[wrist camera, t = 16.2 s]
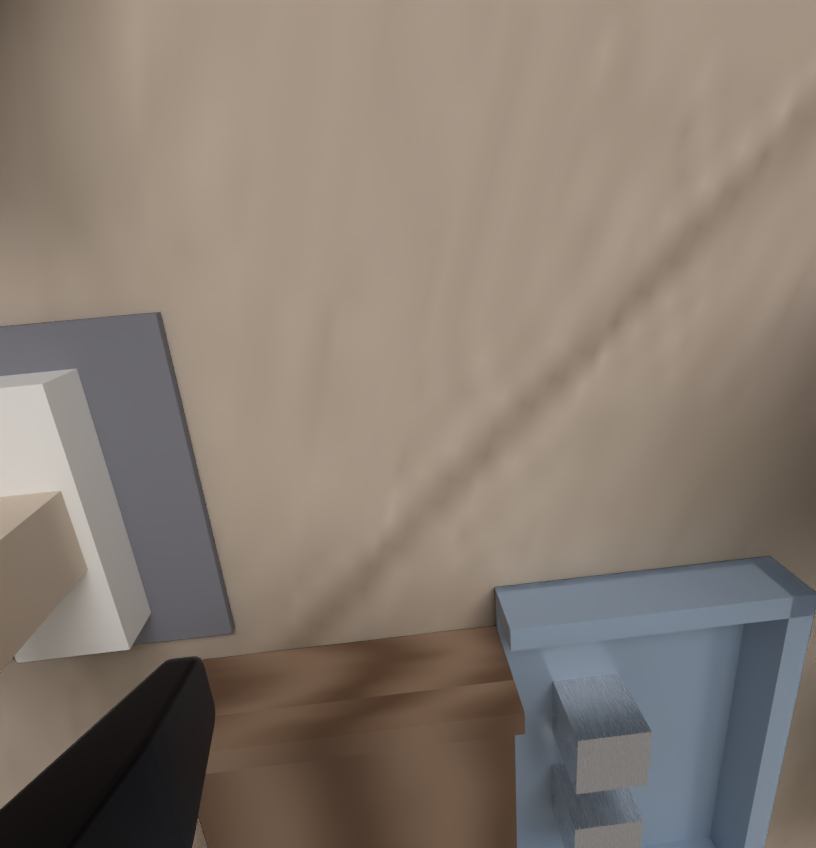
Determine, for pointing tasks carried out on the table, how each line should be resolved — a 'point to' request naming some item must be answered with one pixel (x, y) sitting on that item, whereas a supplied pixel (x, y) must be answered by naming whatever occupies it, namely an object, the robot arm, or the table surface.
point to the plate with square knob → (60, 529)
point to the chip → (600, 733)
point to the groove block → (365, 745)
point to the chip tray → (667, 689)
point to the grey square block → (594, 815)
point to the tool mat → (140, 459)
